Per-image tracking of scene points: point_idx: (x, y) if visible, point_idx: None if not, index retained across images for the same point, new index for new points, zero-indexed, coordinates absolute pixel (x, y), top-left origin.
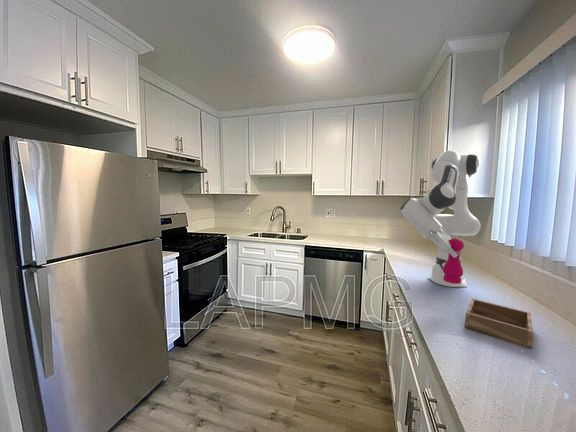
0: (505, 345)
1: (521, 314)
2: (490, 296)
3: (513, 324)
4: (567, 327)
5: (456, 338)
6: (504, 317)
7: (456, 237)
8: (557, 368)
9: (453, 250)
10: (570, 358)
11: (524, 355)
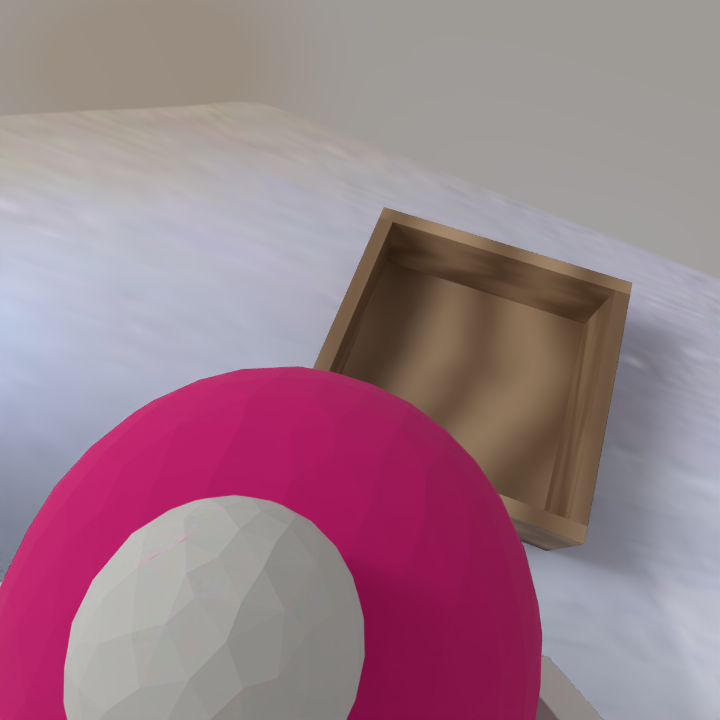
0: (623, 408)
1: (385, 247)
2: (2, 279)
3: (403, 305)
4: (303, 127)
5: (704, 627)
6: (361, 319)
7: (355, 629)
8: (693, 297)
9: (580, 707)
10: (584, 228)
11: (667, 366)
